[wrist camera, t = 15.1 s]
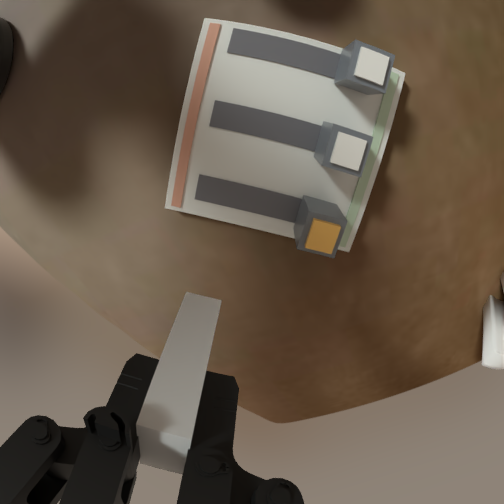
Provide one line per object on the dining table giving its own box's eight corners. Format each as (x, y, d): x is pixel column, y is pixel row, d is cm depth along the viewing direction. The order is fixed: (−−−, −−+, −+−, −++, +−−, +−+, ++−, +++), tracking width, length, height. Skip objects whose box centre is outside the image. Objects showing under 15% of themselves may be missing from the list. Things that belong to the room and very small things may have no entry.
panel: (169, 202, 34) (146, 227, 27) (208, 22, 25) (191, 0, 19) (345, 245, 35) (361, 278, 28) (398, 74, 27) (430, 68, 20)
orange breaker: (293, 228, 32) (297, 251, 27) (303, 194, 31) (309, 212, 26) (325, 236, 32) (335, 260, 27) (336, 204, 31) (349, 223, 26)
